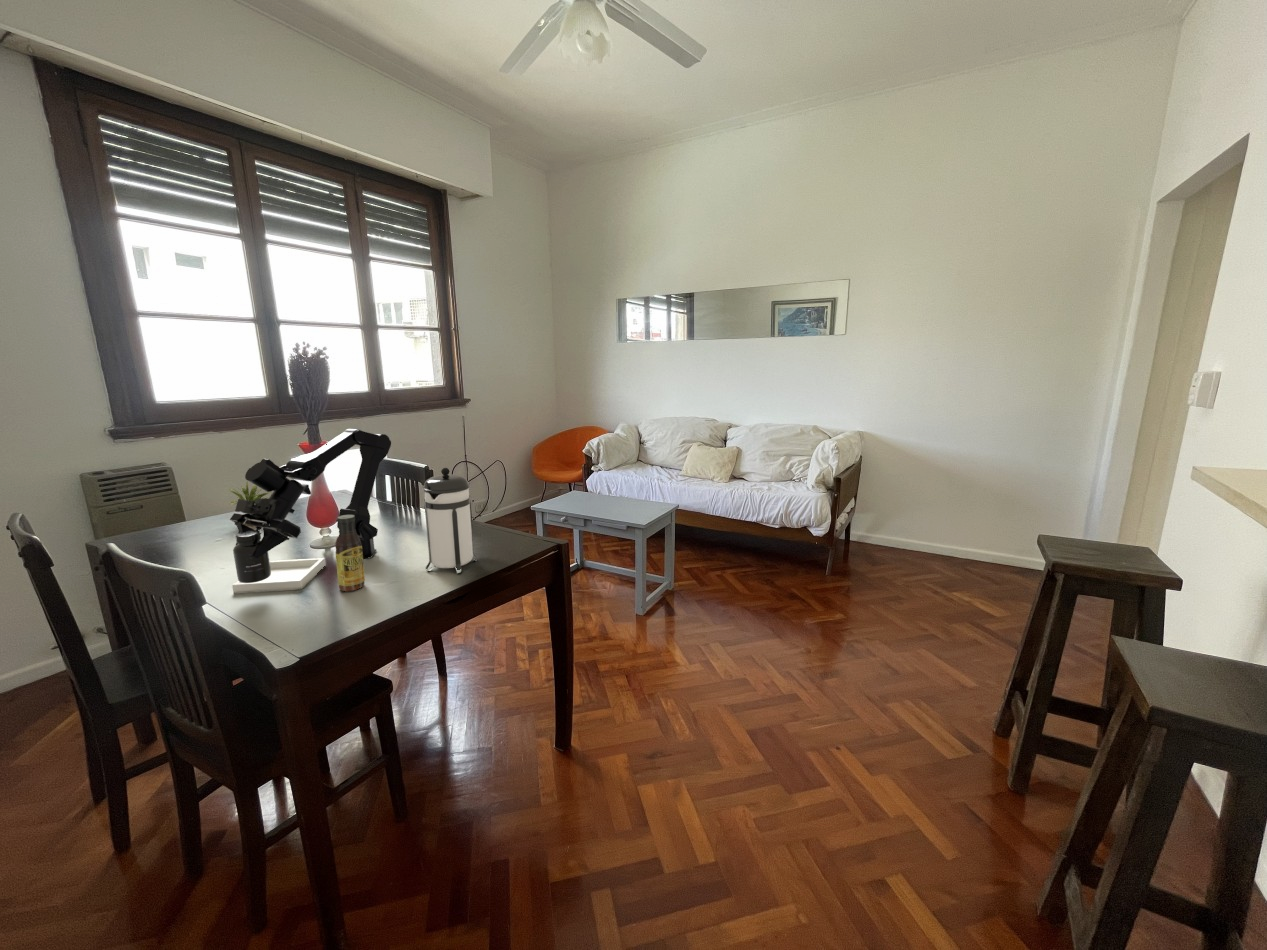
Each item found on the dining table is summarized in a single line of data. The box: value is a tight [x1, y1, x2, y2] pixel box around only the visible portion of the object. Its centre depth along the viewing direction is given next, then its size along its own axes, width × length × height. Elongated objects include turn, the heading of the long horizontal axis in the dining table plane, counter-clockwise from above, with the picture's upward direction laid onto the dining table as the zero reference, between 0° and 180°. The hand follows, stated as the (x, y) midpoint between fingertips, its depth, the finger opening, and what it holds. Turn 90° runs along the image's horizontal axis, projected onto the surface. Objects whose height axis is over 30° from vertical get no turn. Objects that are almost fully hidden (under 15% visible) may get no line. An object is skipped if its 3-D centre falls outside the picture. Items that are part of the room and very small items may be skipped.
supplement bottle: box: [232, 530, 271, 583], centre depth 125 cm, size 7×7×12 cm
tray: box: [231, 557, 327, 595], centre depth 139 cm, size 16×16×2 cm
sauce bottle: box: [334, 515, 366, 592], centre depth 132 cm, size 6×6×20 cm
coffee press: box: [421, 467, 477, 570], centre depth 147 cm, size 17×16×30 cm
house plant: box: [227, 480, 270, 512], centre depth 182 cm, size 14×14×16 cm
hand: (245, 555), depth 124 cm, fingers closed on supplement bottle, 7 cm apart
